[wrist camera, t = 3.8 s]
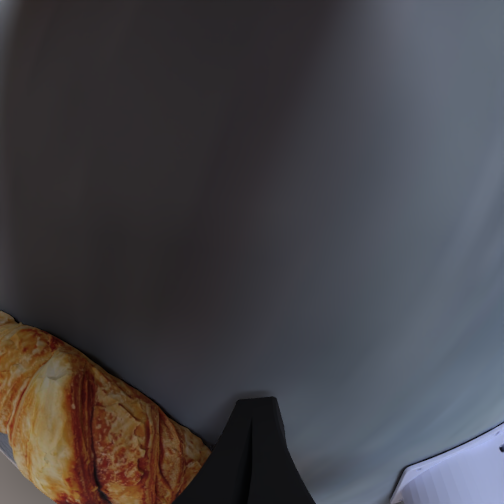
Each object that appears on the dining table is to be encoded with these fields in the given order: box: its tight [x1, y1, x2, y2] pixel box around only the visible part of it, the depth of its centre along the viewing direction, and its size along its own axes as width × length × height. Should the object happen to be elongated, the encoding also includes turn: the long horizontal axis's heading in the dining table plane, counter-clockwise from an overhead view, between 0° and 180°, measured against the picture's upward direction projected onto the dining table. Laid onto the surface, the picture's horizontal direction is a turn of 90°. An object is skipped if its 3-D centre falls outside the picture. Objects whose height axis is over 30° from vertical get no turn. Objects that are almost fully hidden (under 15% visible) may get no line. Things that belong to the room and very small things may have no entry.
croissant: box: [0, 310, 211, 504], centre depth 10 cm, size 21×10×8 cm, turn 59°
